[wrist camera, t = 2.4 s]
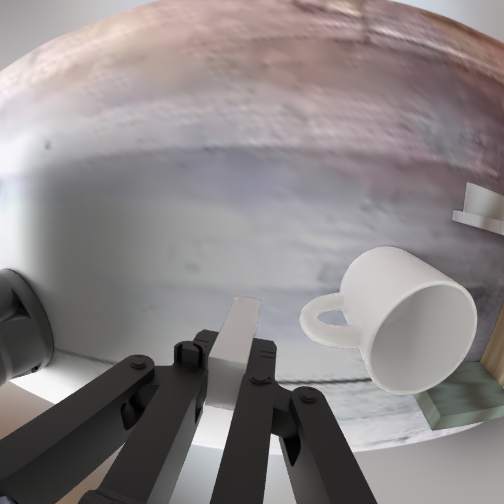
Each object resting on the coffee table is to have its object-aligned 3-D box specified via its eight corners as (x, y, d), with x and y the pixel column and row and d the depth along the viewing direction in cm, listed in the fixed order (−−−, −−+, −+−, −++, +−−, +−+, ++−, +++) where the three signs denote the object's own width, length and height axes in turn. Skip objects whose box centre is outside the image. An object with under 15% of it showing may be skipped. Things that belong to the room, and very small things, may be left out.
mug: (296, 333, 27) (302, 408, 17) (295, 247, 25) (304, 290, 15) (413, 323, 25) (460, 383, 15) (422, 242, 24) (487, 275, 14)
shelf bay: (397, 387, 27) (426, 450, 17) (457, 178, 22) (528, 182, 12) (475, 383, 26) (510, 429, 17) (531, 209, 21) (590, 223, 11)
